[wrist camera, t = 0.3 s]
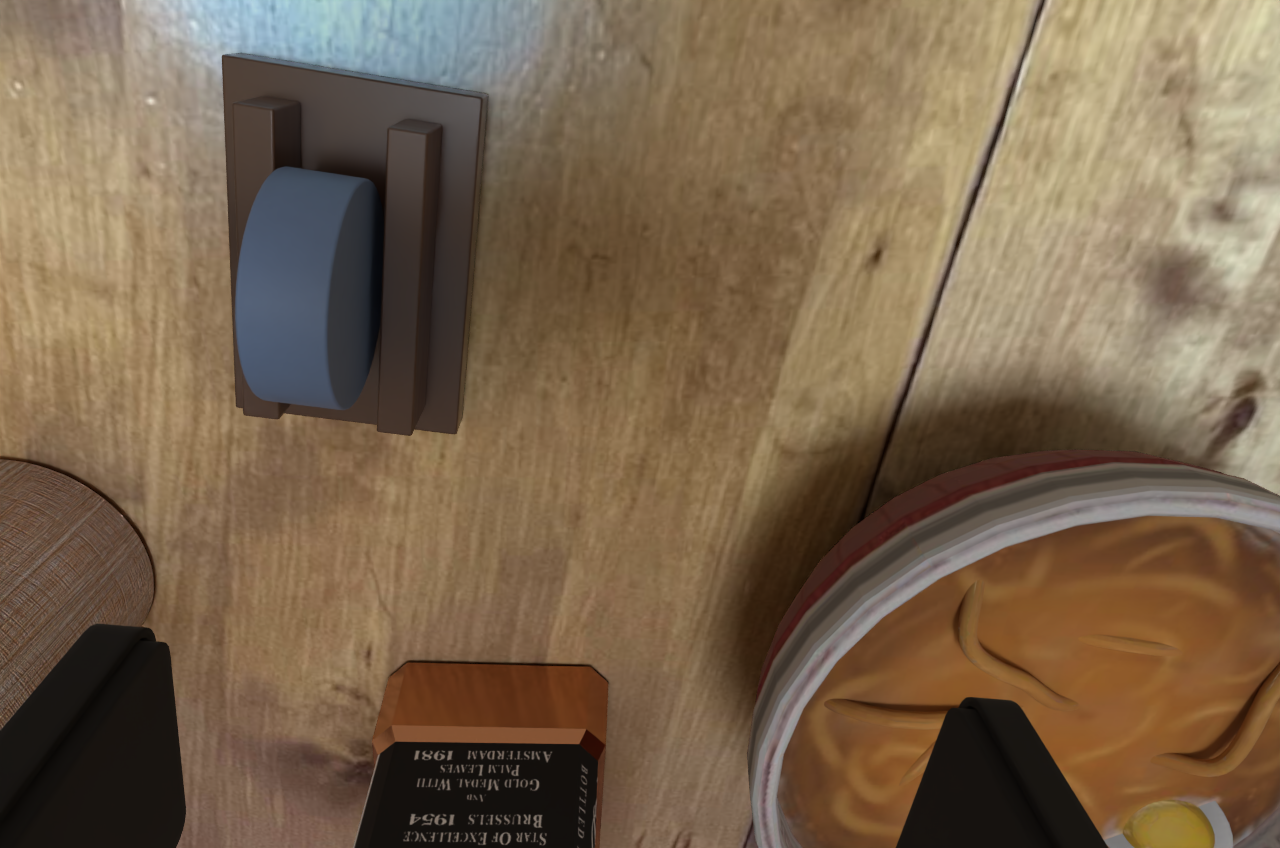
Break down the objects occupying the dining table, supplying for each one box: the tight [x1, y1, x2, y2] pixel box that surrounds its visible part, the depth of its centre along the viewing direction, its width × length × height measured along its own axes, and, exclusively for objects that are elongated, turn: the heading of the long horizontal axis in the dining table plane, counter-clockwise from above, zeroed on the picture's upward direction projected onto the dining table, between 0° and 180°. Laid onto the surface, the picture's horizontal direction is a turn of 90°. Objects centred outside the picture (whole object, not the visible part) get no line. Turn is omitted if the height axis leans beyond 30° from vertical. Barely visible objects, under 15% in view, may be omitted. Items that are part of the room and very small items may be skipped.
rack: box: [222, 53, 488, 436], centre depth 29 cm, size 12×8×4 cm, turn 171°
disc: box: [235, 166, 384, 410], centre depth 26 cm, size 7×2×7 cm, turn 171°
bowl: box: [747, 450, 1280, 848], centre depth 34 cm, size 23×23×10 cm
